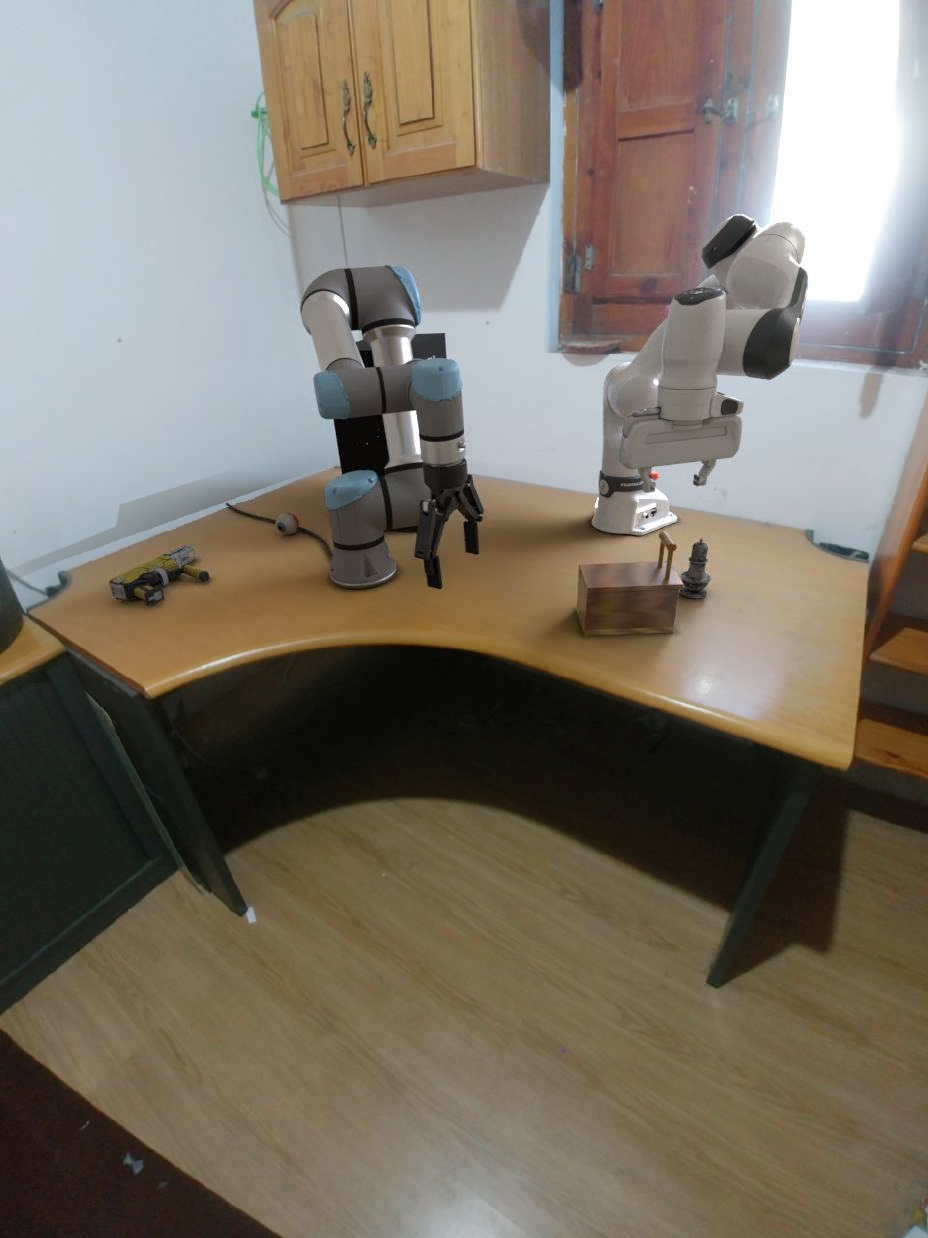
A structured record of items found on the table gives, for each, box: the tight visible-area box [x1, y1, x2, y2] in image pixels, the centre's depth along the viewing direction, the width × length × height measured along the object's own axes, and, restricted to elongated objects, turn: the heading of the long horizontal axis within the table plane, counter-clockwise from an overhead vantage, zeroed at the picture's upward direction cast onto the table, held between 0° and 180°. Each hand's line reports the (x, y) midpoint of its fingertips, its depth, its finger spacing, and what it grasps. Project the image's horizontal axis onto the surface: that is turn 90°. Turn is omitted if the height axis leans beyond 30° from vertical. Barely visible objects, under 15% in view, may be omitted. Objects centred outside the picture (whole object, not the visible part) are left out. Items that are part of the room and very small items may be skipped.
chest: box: [576, 570, 680, 637], centre depth 114 cm, size 16×10×9 cm, turn 89°
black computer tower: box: [332, 332, 448, 533], centre depth 168 cm, size 38×20×45 cm, turn 167°
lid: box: [578, 530, 685, 593], centre depth 110 cm, size 17×10×8 cm, turn 89°
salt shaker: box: [679, 537, 712, 599], centre depth 122 cm, size 6×6×12 cm
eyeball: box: [275, 511, 300, 536], centre depth 163 cm, size 6×6×6 cm
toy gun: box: [108, 544, 210, 607], centre depth 141 cm, size 5×24×15 cm
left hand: (454, 569), depth 113 cm, fingers open, 13 cm apart
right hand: (674, 488), depth 103 cm, fingers open, 8 cm apart
